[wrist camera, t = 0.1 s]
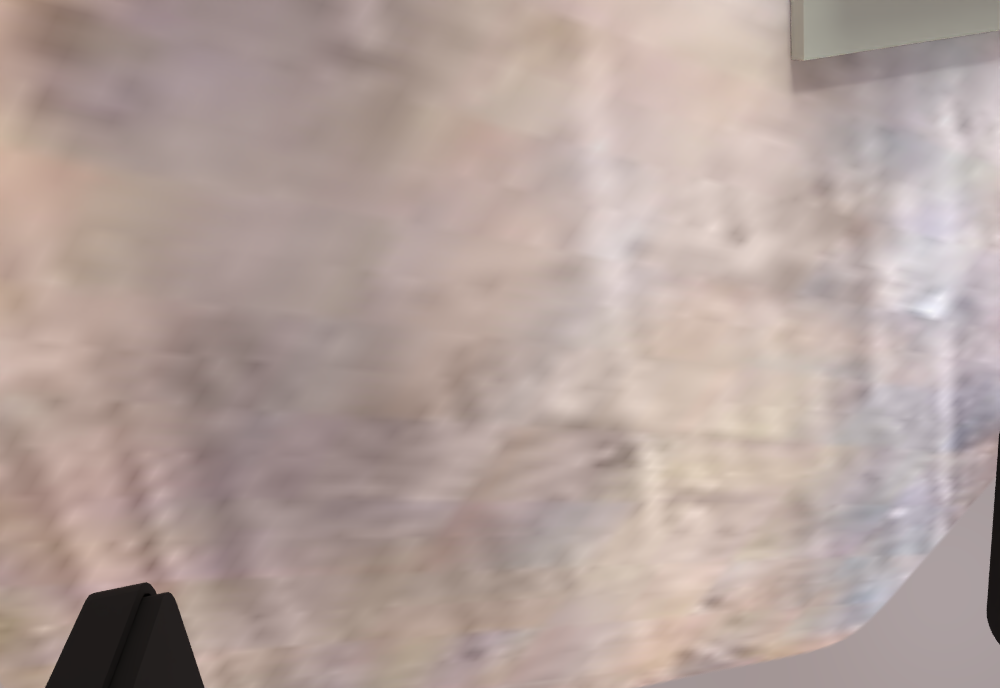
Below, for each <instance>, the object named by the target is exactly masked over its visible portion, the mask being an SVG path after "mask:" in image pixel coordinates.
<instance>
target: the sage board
mask: <svg viewBox="0 0 1000 688" xmlns="http://www.w3.org/2000/svg"><path fill="white" fill-rule="evenodd" d="M999 30H1000V0H791V59H792V60H801V61H806V60H812V59H819V58H825V57H832V56H838V55H844V54H851V53H857V52H864V51H870V50H877V49H883V48H889V47H896V46H902V45H909V44H915V43H922V42H928V41H934V40H941V39H947V38H954V37H960V36H967V35H973V34H980V33H986V32H992V31H999Z"/></svg>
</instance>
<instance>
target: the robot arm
mask: <svg viewBox="0 0 1000 688" xmlns="http://www.w3.org/2000/svg"><path fill="white" fill-rule="evenodd" d="M987 619H988V623H989V626H990V629H991V631H992V633H993V635H994V637H995V639H996V640H997V642H998V643H999V644H1000V433H999V444H998V458H997V472H996V487H995V502H994V514H993V529H992V544H991V557H990V571H989V585H988V599H987ZM45 688H204V685H203V682H202V679H201V676H200V673H199V670H198V667H197V664H196V661H195V658H194V654H193V651H192V648H191V645H190V642H189V639H188V636H187V633H186V630H185V627H184V624H183V621H182V618H181V615H180V612H179V609H178V606H177V603H176V601H175V598H174V597H173V595H172V594H171V593H169V592H166V593H161V594H156V591H155V590H154V588H153V587H152V586H151V584H149V583H147V582H146V583H141V584H136V585H131V586H126V587H121V588H116V589H111V590H106V591H101V592H96V593H93V594H91V595H89V597H88V598H87V599H86V601H85V603H84V605H83V607H82V609H81V612H80V614H79V616H78V618H77V620H76V622H75V625H74V627H73V629H72V631H71V633H70V635H69V638H68V640H67V642H66V644H65V646H64V648H63V650H62V653H61V655H60V657H59V659H58V661H57V663H56V666H55V668H54V670H53V672H52V674H51V676H50V679H49V681H48V683H47V685H46V687H45Z"/></svg>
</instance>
